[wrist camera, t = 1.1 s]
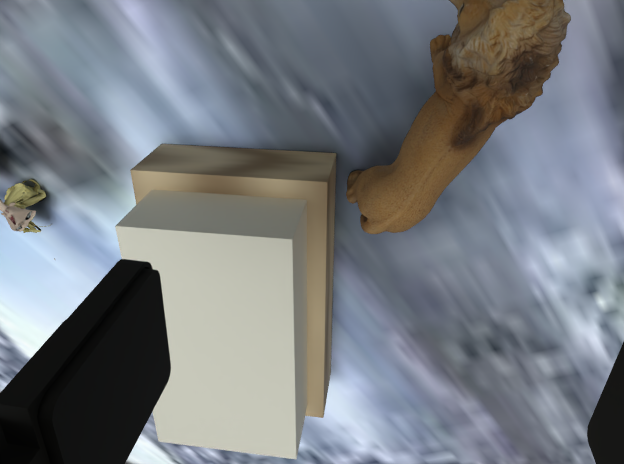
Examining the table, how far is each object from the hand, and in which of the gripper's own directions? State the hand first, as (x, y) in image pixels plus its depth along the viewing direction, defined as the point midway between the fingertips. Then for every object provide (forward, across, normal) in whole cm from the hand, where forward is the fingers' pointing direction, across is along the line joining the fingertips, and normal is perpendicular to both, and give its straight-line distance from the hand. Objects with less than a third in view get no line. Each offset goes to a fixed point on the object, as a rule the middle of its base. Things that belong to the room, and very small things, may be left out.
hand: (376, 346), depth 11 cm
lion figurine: (+19, -2, 0) cm, 19 cm away
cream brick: (+15, +7, +11) cm, 20 cm away
